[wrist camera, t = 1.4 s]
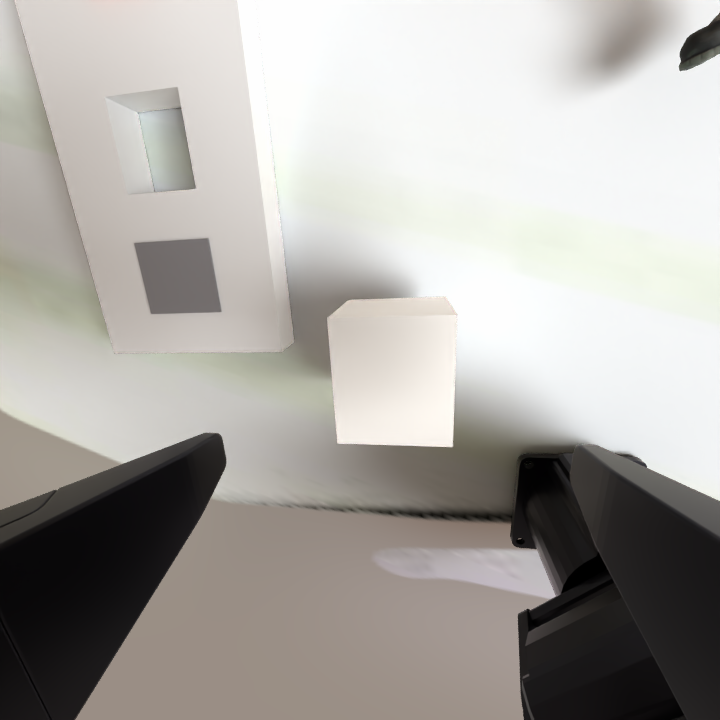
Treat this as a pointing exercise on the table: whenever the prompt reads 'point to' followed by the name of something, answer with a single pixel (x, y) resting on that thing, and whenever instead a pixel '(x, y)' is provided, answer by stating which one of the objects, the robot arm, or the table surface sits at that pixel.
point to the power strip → (133, 177)
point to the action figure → (701, 45)
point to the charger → (394, 371)
